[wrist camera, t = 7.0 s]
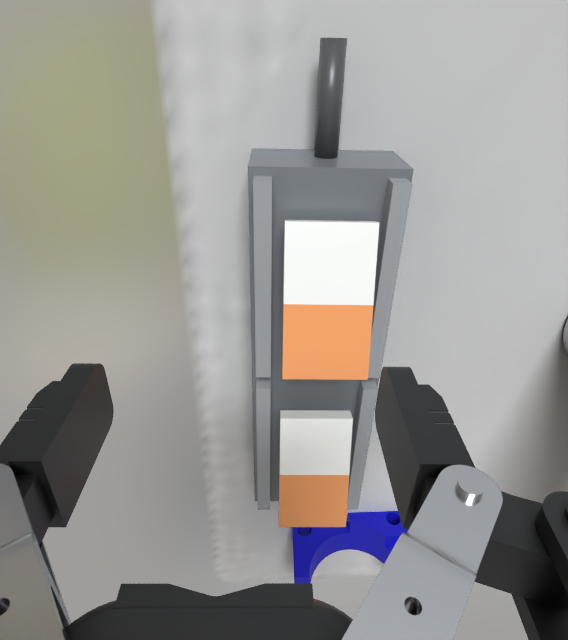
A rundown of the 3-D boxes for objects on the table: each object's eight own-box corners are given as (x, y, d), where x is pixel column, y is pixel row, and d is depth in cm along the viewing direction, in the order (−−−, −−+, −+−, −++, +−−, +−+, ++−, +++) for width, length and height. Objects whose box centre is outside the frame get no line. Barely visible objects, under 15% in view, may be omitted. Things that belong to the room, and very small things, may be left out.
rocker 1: (284, 219, 25) (284, 221, 24) (374, 221, 25) (379, 222, 24) (282, 371, 27) (282, 379, 26) (363, 371, 27) (367, 379, 26)
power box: (250, 37, 25) (244, 33, 20) (408, 40, 26) (443, 38, 20) (256, 455, 43) (254, 513, 38) (350, 456, 43) (360, 513, 38)
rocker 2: (280, 410, 32) (280, 418, 31) (350, 410, 32) (352, 418, 31) (278, 515, 34) (278, 527, 33) (343, 515, 35) (345, 527, 33)
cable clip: (403, 509, 48) (419, 564, 43) (399, 534, 50) (413, 589, 45) (291, 513, 48) (294, 568, 43) (292, 538, 50) (294, 594, 45)
